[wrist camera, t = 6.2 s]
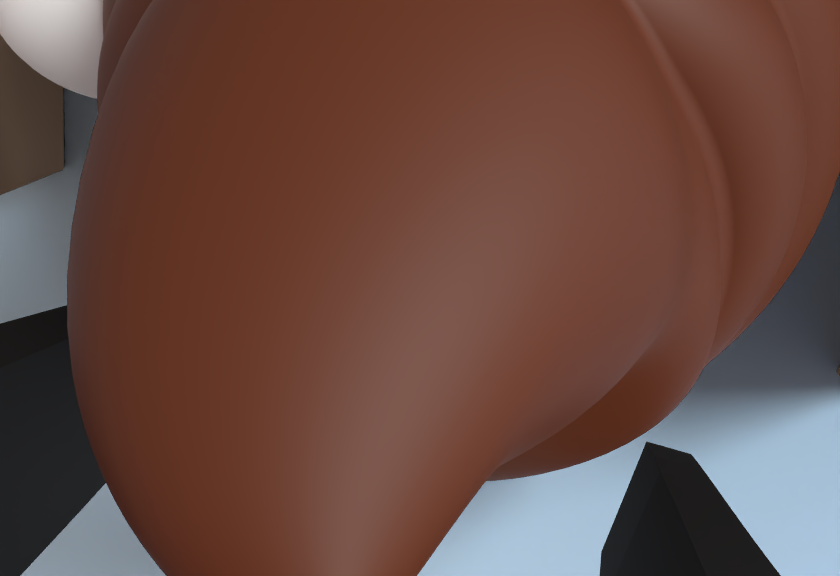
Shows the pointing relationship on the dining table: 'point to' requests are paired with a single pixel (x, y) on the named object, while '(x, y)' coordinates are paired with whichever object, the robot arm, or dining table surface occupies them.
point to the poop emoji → (413, 247)
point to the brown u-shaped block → (30, 123)
